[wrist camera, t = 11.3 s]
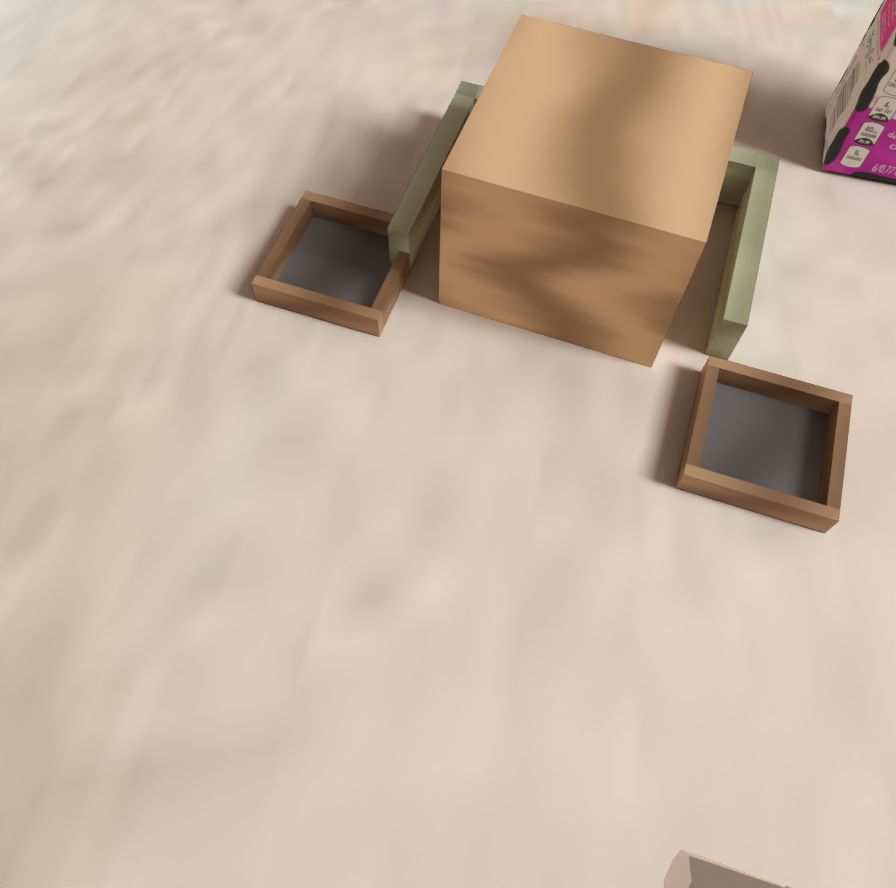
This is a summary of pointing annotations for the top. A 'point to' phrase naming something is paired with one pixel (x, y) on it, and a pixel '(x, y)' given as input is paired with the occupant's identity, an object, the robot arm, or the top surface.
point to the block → (586, 187)
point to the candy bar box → (866, 106)
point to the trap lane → (721, 381)
